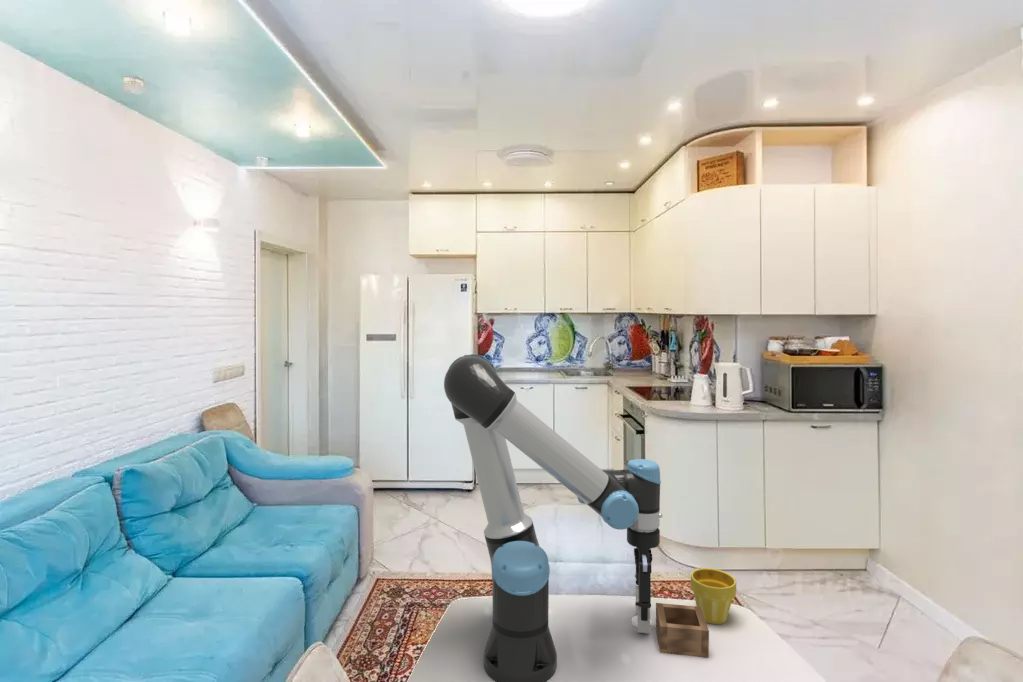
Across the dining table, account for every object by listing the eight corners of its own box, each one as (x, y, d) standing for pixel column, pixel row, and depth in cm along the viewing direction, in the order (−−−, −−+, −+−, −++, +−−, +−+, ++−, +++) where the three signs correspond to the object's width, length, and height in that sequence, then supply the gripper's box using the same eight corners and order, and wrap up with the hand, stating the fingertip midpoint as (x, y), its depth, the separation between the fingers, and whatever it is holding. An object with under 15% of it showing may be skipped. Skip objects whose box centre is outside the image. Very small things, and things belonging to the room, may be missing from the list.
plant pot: (740, 631, 124) (740, 589, 124) (693, 626, 126) (693, 585, 126) (731, 608, 134) (731, 569, 134) (687, 604, 136) (688, 565, 136)
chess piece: (633, 629, 125) (634, 586, 124) (629, 617, 130) (630, 576, 129) (655, 629, 125) (655, 587, 124) (650, 618, 129) (650, 577, 129)
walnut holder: (659, 653, 116) (660, 626, 116) (655, 628, 126) (655, 602, 125) (708, 658, 114) (708, 630, 114) (700, 632, 124) (700, 606, 124)
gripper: (664, 545, 116) (663, 649, 116) (655, 512, 136) (654, 602, 136) (628, 542, 117) (628, 646, 118) (625, 511, 137) (624, 599, 138)
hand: (642, 622), depth 127 cm, fingers open, 7 cm apart
